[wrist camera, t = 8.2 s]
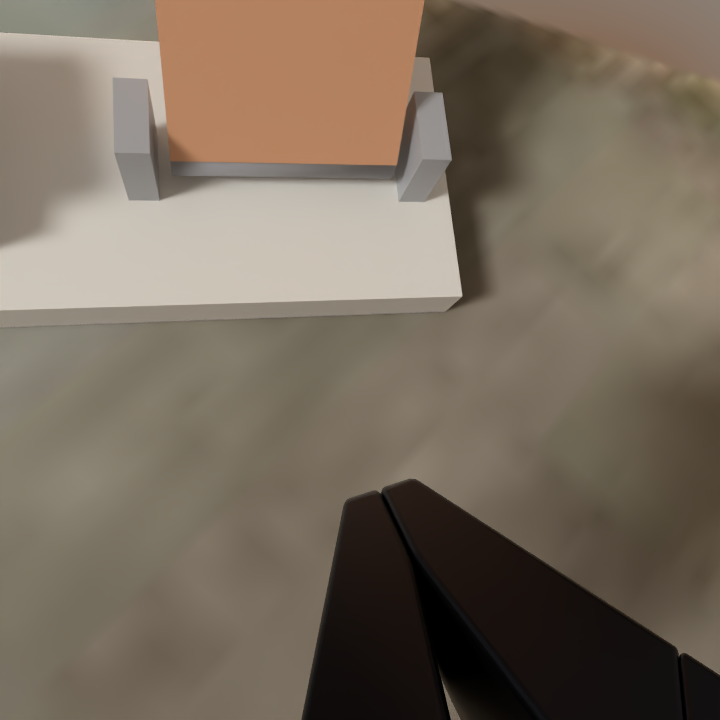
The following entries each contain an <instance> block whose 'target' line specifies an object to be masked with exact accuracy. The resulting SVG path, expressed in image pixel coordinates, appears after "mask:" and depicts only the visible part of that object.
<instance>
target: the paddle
mask: <svg viewBox="0 0 720 720" xmlns="http://www.w3.org/2000/svg"><path fill="white" fill-rule="evenodd" d="M155 3H156V14H157V25H158V35H159V46H160V57H161V67H162V78H163V89H164V99H165V110H166V121H167V131H168V142H169V153H170V162H171V171H172V176H234V177H307V178H380V179H391V178H392V177H393V175H394V172H395V169H396V165H397V161H398V155H399V149H400V143H401V137H402V131H403V126H404V120H405V114H406V108H407V102H408V96H409V90H410V84H411V78H412V72H413V66H414V60H415V54H416V48H417V42H418V36H419V30H420V24H421V18H422V12H423V6H424V0H155Z"/></svg>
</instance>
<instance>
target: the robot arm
mask: <svg viewBox="0 0 720 720" xmlns="http://www.w3.org/2000/svg"><path fill="white" fill-rule="evenodd" d="M441 679H442V680H441ZM442 681H443V683H444V685H445V688H446V690H447V692H448V694H449V696H450V698H451V701H452V703H453V705H454V707H455V709H456V711H457V713H458V715H459V717H460V719H461V720H720V675H719V674H717V673H716V672H714V671H713V670H711V669H709V668H708V667H706V666H705V665H703V664H702V663H700V662H699V661H697V660H696V659H694V658H693V657H691V656H689V655H688V654H686V653H683V654H681V655H680V656H679V655H678V650H677V648H676V647H675V646H673V645H672V644H670V643H669V642H667V641H666V640H664V639H663V638H661V637H659V636H658V635H656V634H655V633H653V632H652V631H650V630H649V629H647V628H646V627H644V626H642V625H641V624H639V623H638V622H636V621H635V620H633V619H632V618H630V617H629V616H627V615H625V614H624V613H622V612H621V611H619V610H618V609H616V608H615V607H613V606H611V605H610V604H608V603H607V602H605V601H604V600H602V599H601V598H599V597H598V596H596V595H594V594H593V593H591V592H590V591H588V590H587V589H585V588H584V587H582V586H581V585H579V584H577V583H576V582H574V581H573V580H571V579H570V578H568V577H567V576H565V575H564V574H562V573H560V572H559V571H557V570H556V569H554V568H553V567H551V566H550V565H548V564H546V563H545V562H543V561H542V560H540V559H539V558H537V557H536V556H534V555H533V554H531V553H529V552H528V551H526V550H525V549H523V548H522V547H520V546H519V545H517V544H516V543H514V542H512V541H511V540H509V539H508V538H506V537H505V536H503V535H502V534H500V533H499V532H497V531H495V530H494V529H492V528H491V527H489V526H488V525H486V524H485V523H483V522H481V521H480V520H478V519H477V518H475V517H474V516H472V515H471V514H469V513H468V512H466V511H464V510H463V509H461V508H460V507H458V506H457V505H455V504H454V503H452V502H451V501H449V500H447V499H446V498H444V497H443V496H441V495H440V494H438V493H437V492H435V491H434V490H432V489H430V488H429V487H427V486H426V485H424V484H423V483H421V482H420V481H418V480H416V479H407V480H404V481H401V482H398V483H395V484H392V485H389V486H386V487H384V488H383V489H382V492H381V494H380V493H379V492H378V491H370V492H367V493H364V494H361V495H358V496H355V497H352V498H349V499H347V500H346V501H345V504H344V507H343V511H342V516H341V522H340V527H339V532H338V537H337V542H336V547H335V552H334V557H333V562H332V567H331V572H330V577H329V583H328V588H327V593H326V598H325V603H324V608H323V613H322V618H321V623H320V628H319V633H318V638H317V643H316V649H315V654H314V659H313V664H312V669H311V674H310V679H309V684H308V689H307V694H306V699H305V704H304V710H303V715H302V720H451V719H450V714H449V710H448V706H447V701H446V697H445V693H444V689H443V684H442Z"/></svg>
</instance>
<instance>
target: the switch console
mask: <svg viewBox="0 0 720 720" xmlns="http://www.w3.org/2000/svg"><path fill="white" fill-rule="evenodd" d="M451 160H452V157H451V150H450V143H449V136H448V129H447V122H446V115H445V108H444V101H443V94H442V93H438V92H434V87H433V80H432V73H431V65H430V58H424V57H415V60H414V66H413V72H412V78H411V84H410V90H409V96H408V102H407V108H406V114H405V120H404V126H403V131H402V137H401V143H400V149H399V155H398V161H397V165H396V169H395V172H394V175H393V177H392V178H391V179H380V178H307V177H234V176H172V171H171V162H170V153H169V142H168V131H167V121H166V110H165V99H164V89H163V78H162V67H161V57H160V46H159V42H152V41H135V40H118V39H101V38H84V37H67V36H50V35H33V34H16V33H0V328H1V327H29V326H56V325H84V324H112V323H140V322H168V321H196V320H224V319H252V318H280V317H308V316H336V315H364V314H392V313H420V312H445V311H447V310H448V309H449V308H450V307H451V306H452V305H453V304H454V303H456V302H457V301H458V300H459V299H460V298H461V297H462V290H461V282H460V275H459V268H458V261H457V253H456V246H455V239H454V232H453V225H452V217H451V210H450V203H449V196H448V188H447V181H446V174H445V170H446V168H447V166H448V165H449V163H450V162H451Z"/></svg>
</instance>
